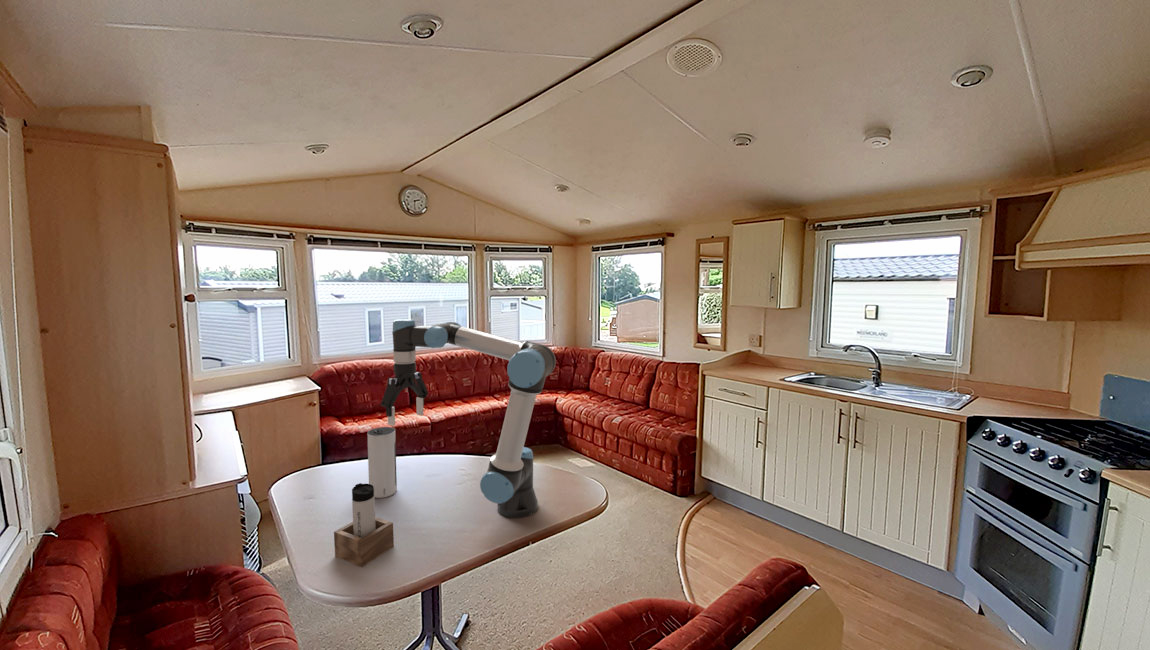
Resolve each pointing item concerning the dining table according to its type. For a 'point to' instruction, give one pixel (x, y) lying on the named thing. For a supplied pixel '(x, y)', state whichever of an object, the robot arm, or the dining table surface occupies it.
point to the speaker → (382, 461)
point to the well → (363, 543)
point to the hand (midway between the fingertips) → (406, 419)
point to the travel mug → (363, 509)
